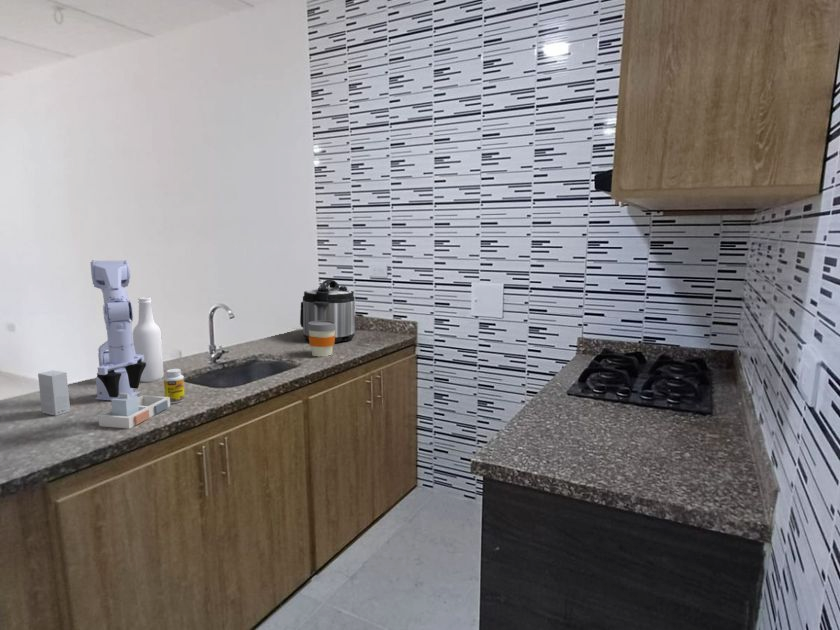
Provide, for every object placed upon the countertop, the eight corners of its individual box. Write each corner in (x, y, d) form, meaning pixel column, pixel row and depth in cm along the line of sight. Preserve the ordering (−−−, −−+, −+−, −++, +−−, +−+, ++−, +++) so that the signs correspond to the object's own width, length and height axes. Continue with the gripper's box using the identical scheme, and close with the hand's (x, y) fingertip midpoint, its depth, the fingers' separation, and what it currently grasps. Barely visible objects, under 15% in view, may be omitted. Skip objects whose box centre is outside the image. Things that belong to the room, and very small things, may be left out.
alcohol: (133, 383, 159) (126, 299, 154) (139, 376, 168) (133, 296, 163) (161, 381, 162) (155, 299, 157) (166, 374, 170) (161, 296, 166)
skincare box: (71, 411, 133) (67, 372, 131) (55, 416, 129) (51, 376, 127) (57, 408, 135) (53, 369, 133) (41, 413, 131) (36, 373, 129)
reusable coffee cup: (327, 359, 199) (327, 326, 197) (302, 356, 203) (302, 323, 200) (340, 353, 211) (340, 321, 208) (317, 350, 215) (317, 319, 212)
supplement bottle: (166, 405, 140) (164, 373, 138) (164, 399, 145) (162, 369, 143) (186, 402, 143) (184, 371, 141) (183, 397, 148) (182, 367, 146)
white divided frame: (99, 426, 123) (98, 415, 123) (143, 404, 140) (142, 395, 140) (131, 428, 122) (130, 418, 122) (172, 406, 139) (171, 397, 139)
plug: (113, 423, 126) (110, 395, 124) (125, 417, 130) (123, 390, 129) (127, 424, 125) (125, 396, 124) (139, 418, 129) (137, 391, 128)
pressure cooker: (332, 331, 261) (332, 276, 256) (367, 338, 243) (368, 280, 238) (288, 338, 237) (287, 278, 232) (323, 347, 220) (323, 283, 215)
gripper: (113, 352, 116) (117, 402, 119) (152, 340, 131) (155, 385, 133) (88, 350, 117) (93, 400, 119) (130, 338, 131) (133, 383, 134)
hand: (124, 392), depth 126 cm, fingers open, 7 cm apart
